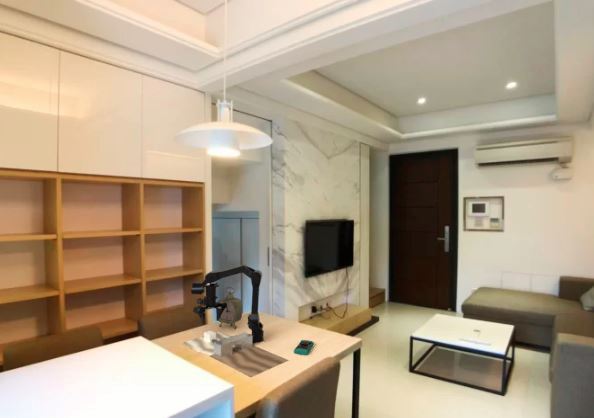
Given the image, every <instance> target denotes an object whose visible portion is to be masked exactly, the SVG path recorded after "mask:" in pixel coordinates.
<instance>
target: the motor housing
mask: <svg viewBox="0 0 594 418" xmlns="http://www.w3.org/2000/svg"><path fill="white" fill-rule="evenodd" d="M231 336H232V337H229V338H226V339H222V340H219V341H216V342H214V356H216V357H218V358H220V359H222V358H224V357H227V356H230V355H232V348H233V344H235V348H236V349H238V350H241V351H243V350H246V349H249V348H252V345H253V343H252V333H248V332H241V333H239V334H238V333H237V334H235V335H231Z"/></svg>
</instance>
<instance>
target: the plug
mask: <svg viewBox="0 0 594 418" xmlns="http://www.w3.org/2000/svg"><path fill="white" fill-rule="evenodd" d="M203 336H204V340H205V341H208V342H213V343H214V342H216V341H218V340H216V332H214V331H212V330H208V331H204V332H203ZM223 339H226V338H223ZM220 340H222V339H220Z"/></svg>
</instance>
